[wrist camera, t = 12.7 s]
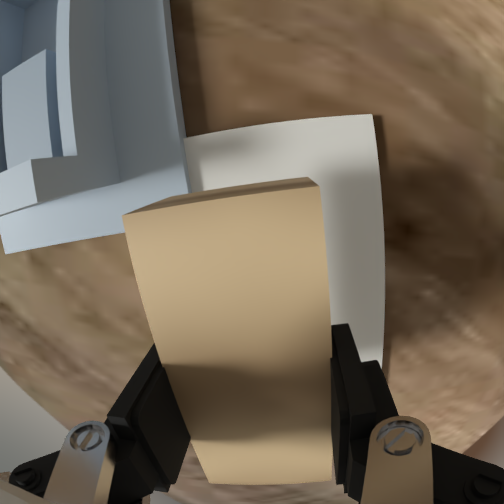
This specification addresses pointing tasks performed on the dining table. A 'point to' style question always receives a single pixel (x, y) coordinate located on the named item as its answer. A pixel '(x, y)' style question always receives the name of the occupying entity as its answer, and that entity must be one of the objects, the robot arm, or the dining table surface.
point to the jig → (86, 117)
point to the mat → (332, 198)
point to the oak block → (243, 325)
